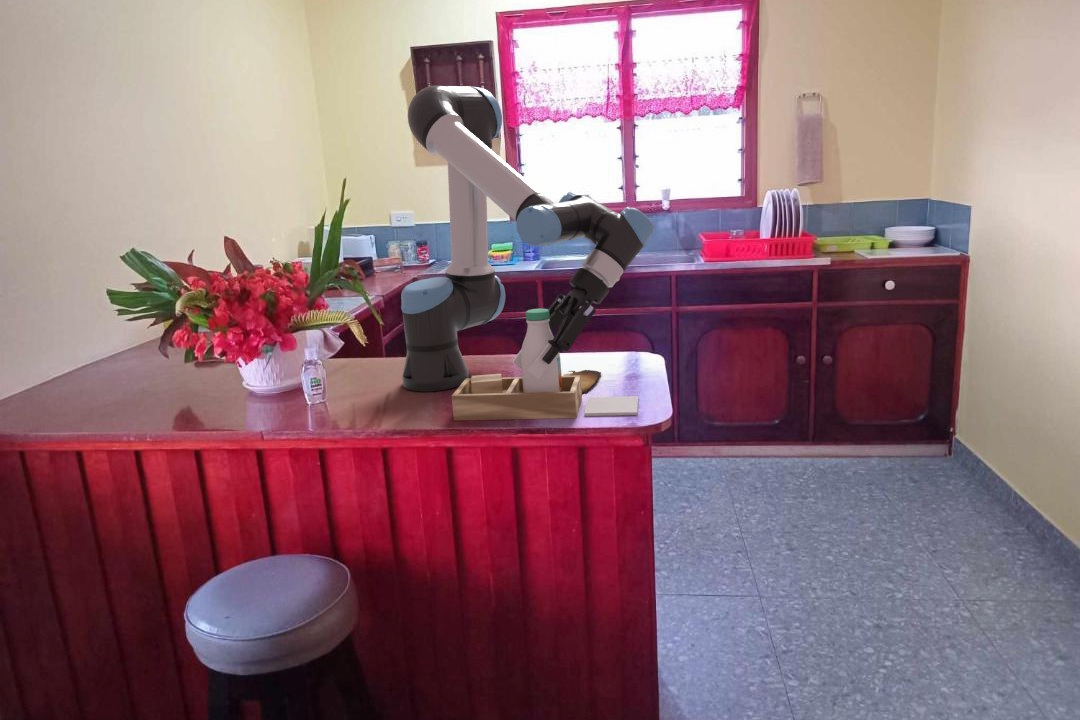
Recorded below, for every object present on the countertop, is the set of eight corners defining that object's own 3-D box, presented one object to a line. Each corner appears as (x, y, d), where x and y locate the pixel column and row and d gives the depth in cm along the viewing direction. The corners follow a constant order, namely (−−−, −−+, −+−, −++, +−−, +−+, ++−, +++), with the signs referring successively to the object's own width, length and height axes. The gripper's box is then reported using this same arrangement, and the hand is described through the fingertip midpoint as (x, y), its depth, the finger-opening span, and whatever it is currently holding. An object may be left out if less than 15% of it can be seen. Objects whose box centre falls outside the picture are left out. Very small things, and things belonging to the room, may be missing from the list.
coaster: (588, 400, 160) (588, 397, 160) (638, 398, 159) (638, 396, 158) (584, 416, 151) (584, 413, 150) (637, 415, 149) (637, 412, 149)
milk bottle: (556, 415, 152) (550, 314, 147) (519, 414, 154) (511, 314, 149) (568, 403, 159) (562, 306, 154) (532, 402, 161) (525, 306, 156)
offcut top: (473, 392, 160) (471, 375, 159) (502, 390, 160) (501, 373, 160) (472, 399, 155) (471, 382, 155) (503, 397, 156) (501, 380, 155)
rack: (468, 401, 165) (465, 378, 164) (581, 398, 161) (580, 375, 160) (454, 420, 154) (451, 396, 152) (576, 418, 150) (574, 392, 149)
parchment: (568, 371, 183) (568, 367, 183) (609, 371, 180) (609, 368, 179) (530, 405, 161) (529, 401, 161) (575, 407, 157) (575, 402, 157)
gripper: (632, 296, 147) (559, 393, 146) (586, 283, 166) (520, 369, 164) (606, 271, 144) (530, 370, 142) (561, 261, 163) (494, 348, 161)
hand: (525, 370), depth 153 cm, fingers closed on milk bottle, 8 cm apart
